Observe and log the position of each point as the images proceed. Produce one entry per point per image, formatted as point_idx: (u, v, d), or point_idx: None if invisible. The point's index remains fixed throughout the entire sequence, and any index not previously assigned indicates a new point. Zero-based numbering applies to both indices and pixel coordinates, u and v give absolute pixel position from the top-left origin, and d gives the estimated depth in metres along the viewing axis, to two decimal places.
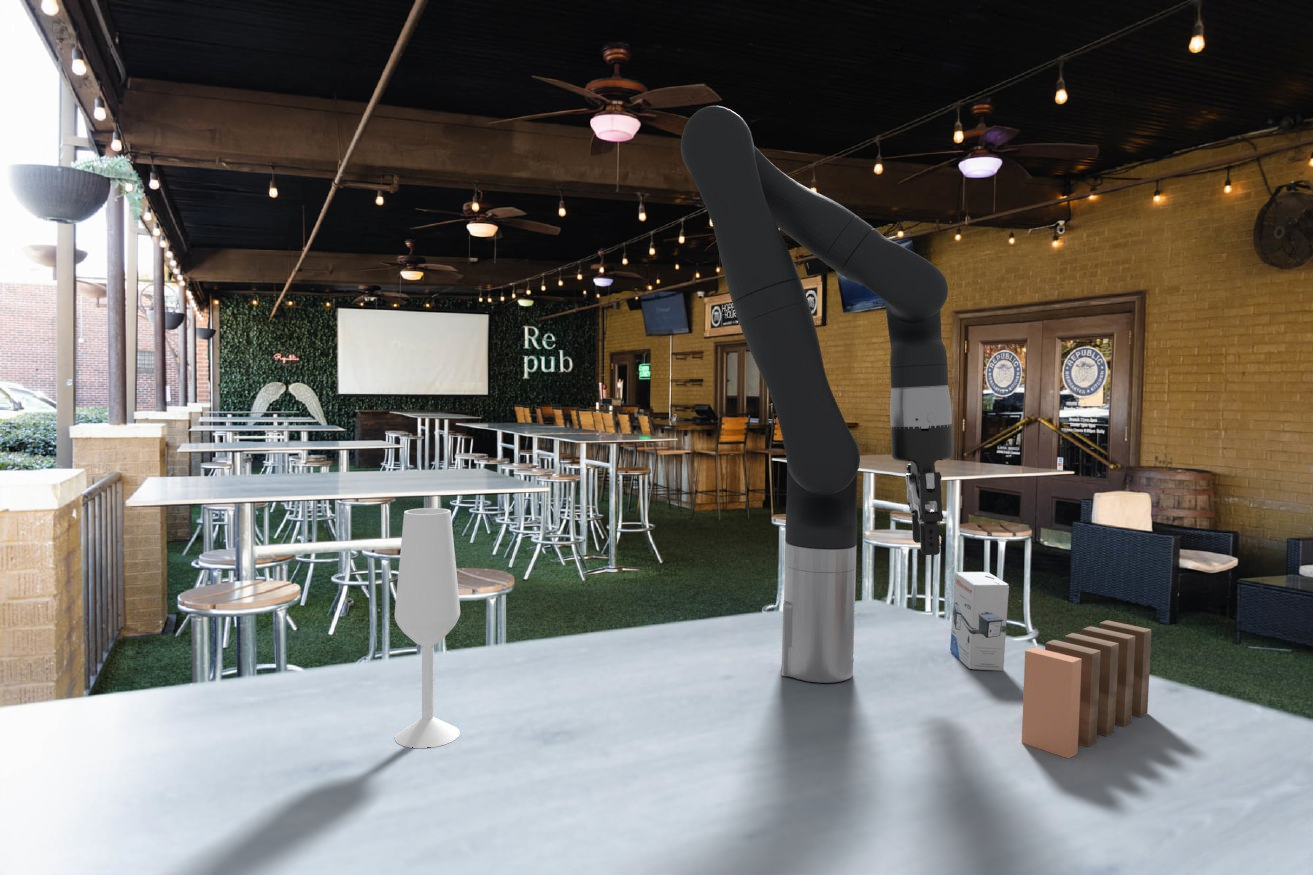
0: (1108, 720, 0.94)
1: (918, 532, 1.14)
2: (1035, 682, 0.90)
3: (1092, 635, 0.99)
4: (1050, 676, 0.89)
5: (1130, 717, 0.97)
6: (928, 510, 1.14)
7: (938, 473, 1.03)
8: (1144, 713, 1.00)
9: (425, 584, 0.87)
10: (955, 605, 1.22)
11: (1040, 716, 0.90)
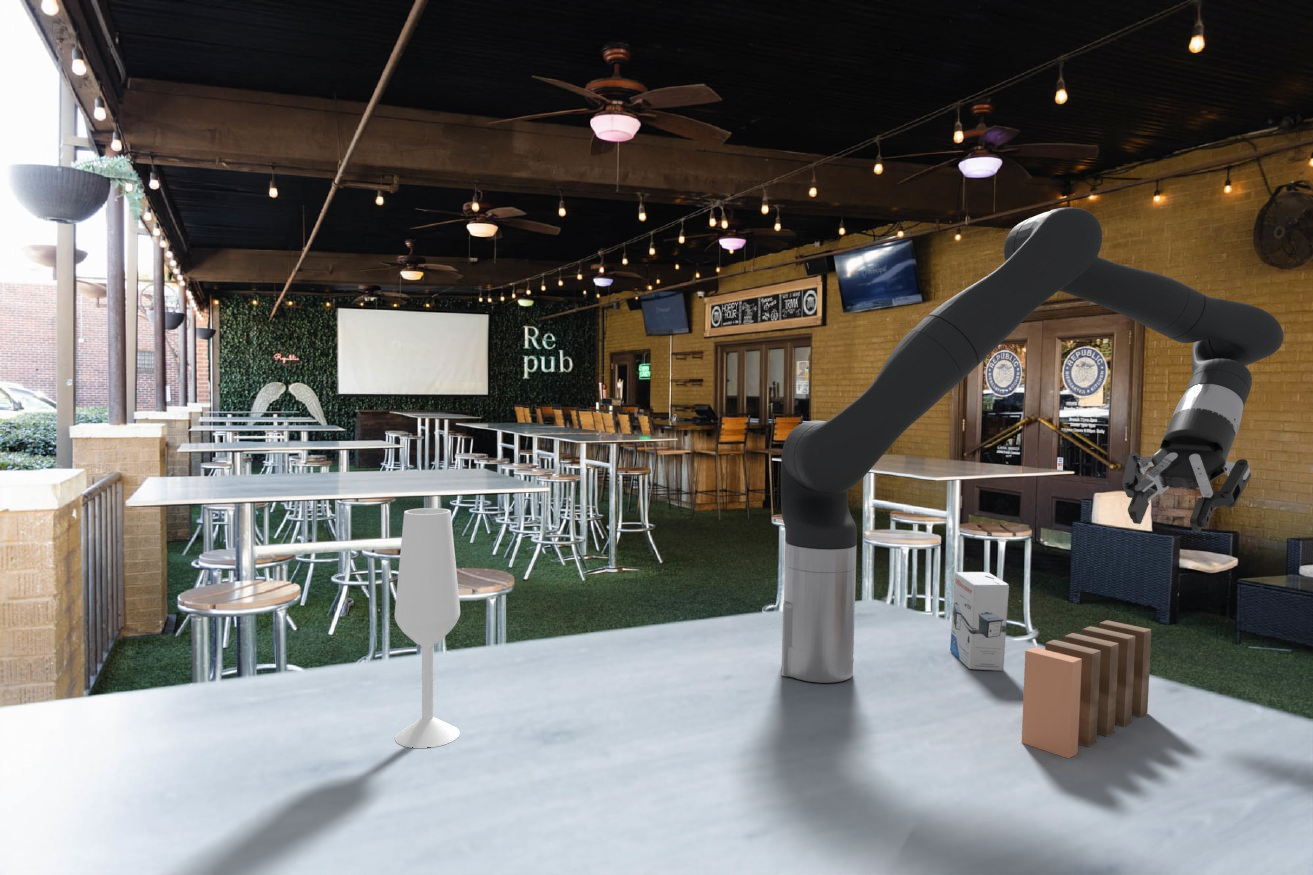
0: (1108, 720, 0.94)
1: (1140, 509, 1.09)
2: (1035, 682, 0.90)
3: (1092, 635, 0.99)
4: (1050, 676, 0.89)
5: (1130, 717, 0.97)
6: (1149, 499, 1.11)
7: None
8: (1144, 713, 1.00)
9: (425, 584, 0.87)
10: (955, 605, 1.22)
11: (1041, 716, 0.90)
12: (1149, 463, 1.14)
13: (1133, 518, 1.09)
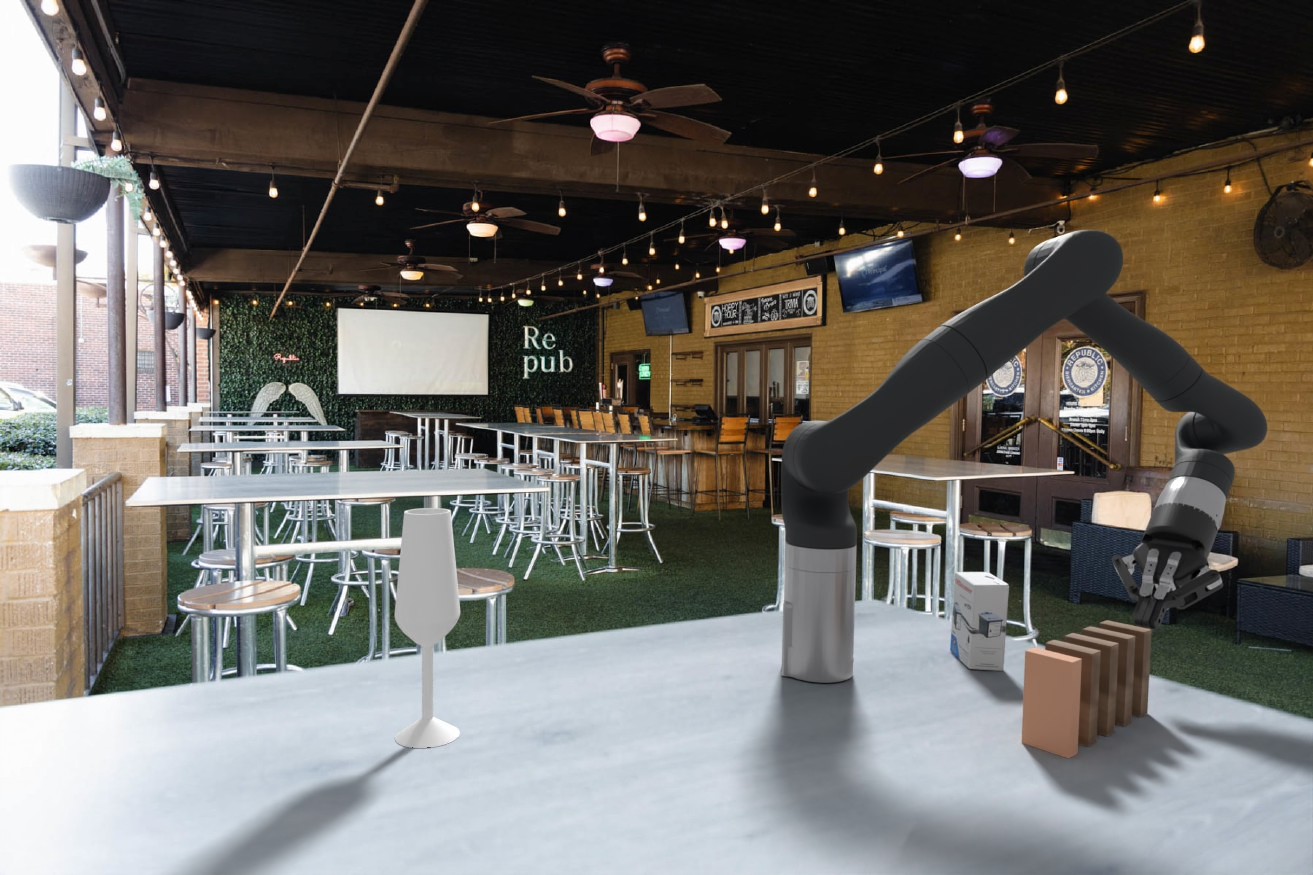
0: (1108, 720, 0.94)
1: None
2: (1035, 682, 0.90)
3: (1092, 635, 0.99)
4: (1050, 676, 0.89)
5: (1130, 717, 0.97)
6: None
7: (1222, 584, 1.04)
8: (1144, 713, 1.00)
9: (425, 584, 0.87)
10: (955, 605, 1.22)
11: (1041, 716, 0.90)
12: (1134, 561, 1.12)
13: (1138, 626, 1.05)
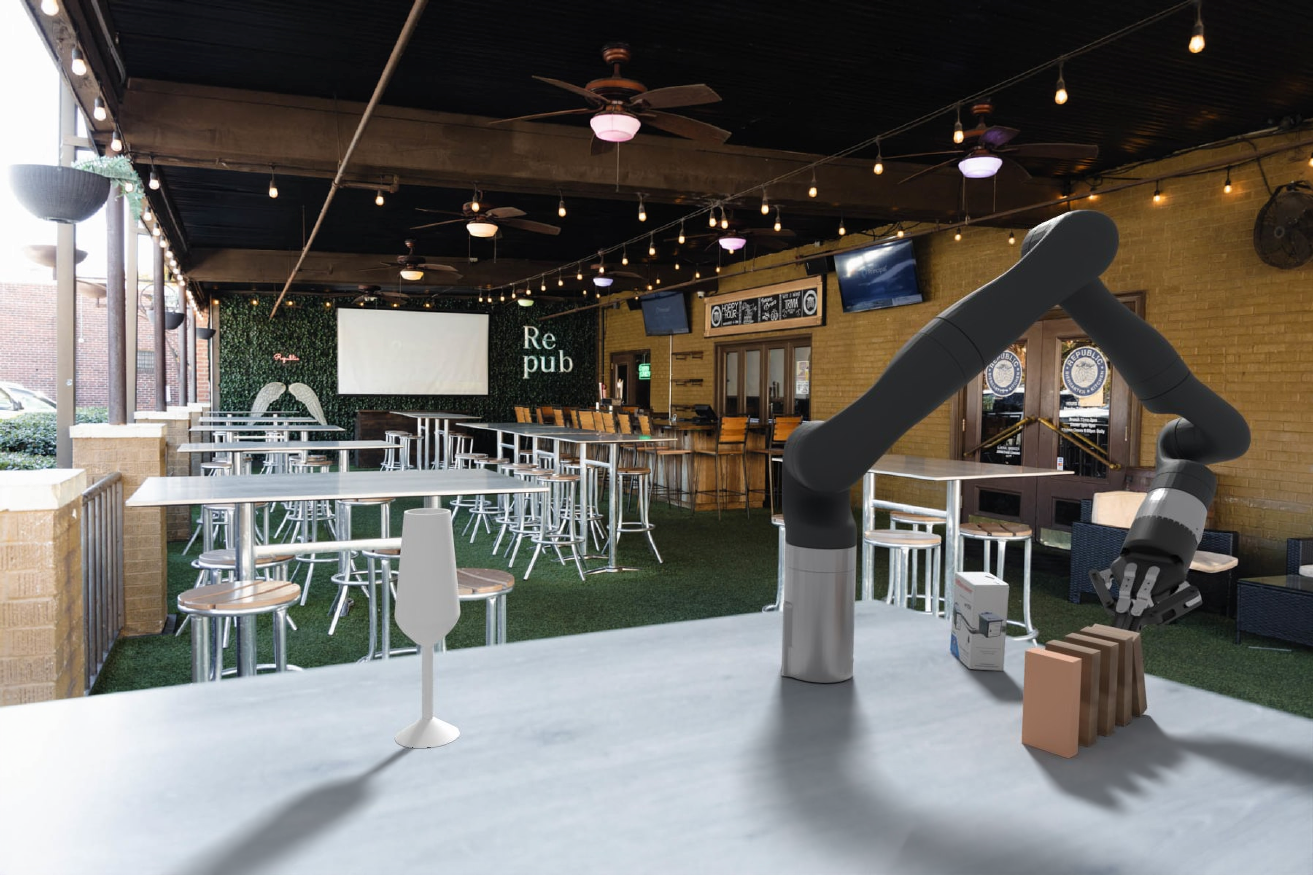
0: (1108, 720, 0.94)
1: None
2: (1035, 682, 0.90)
3: (1089, 636, 0.98)
4: (1050, 676, 0.89)
5: (1130, 716, 0.97)
6: None
7: (1201, 601, 1.00)
8: (1144, 710, 1.00)
9: (425, 584, 0.87)
10: (955, 605, 1.22)
11: (1040, 716, 0.90)
12: (1111, 576, 1.08)
13: None
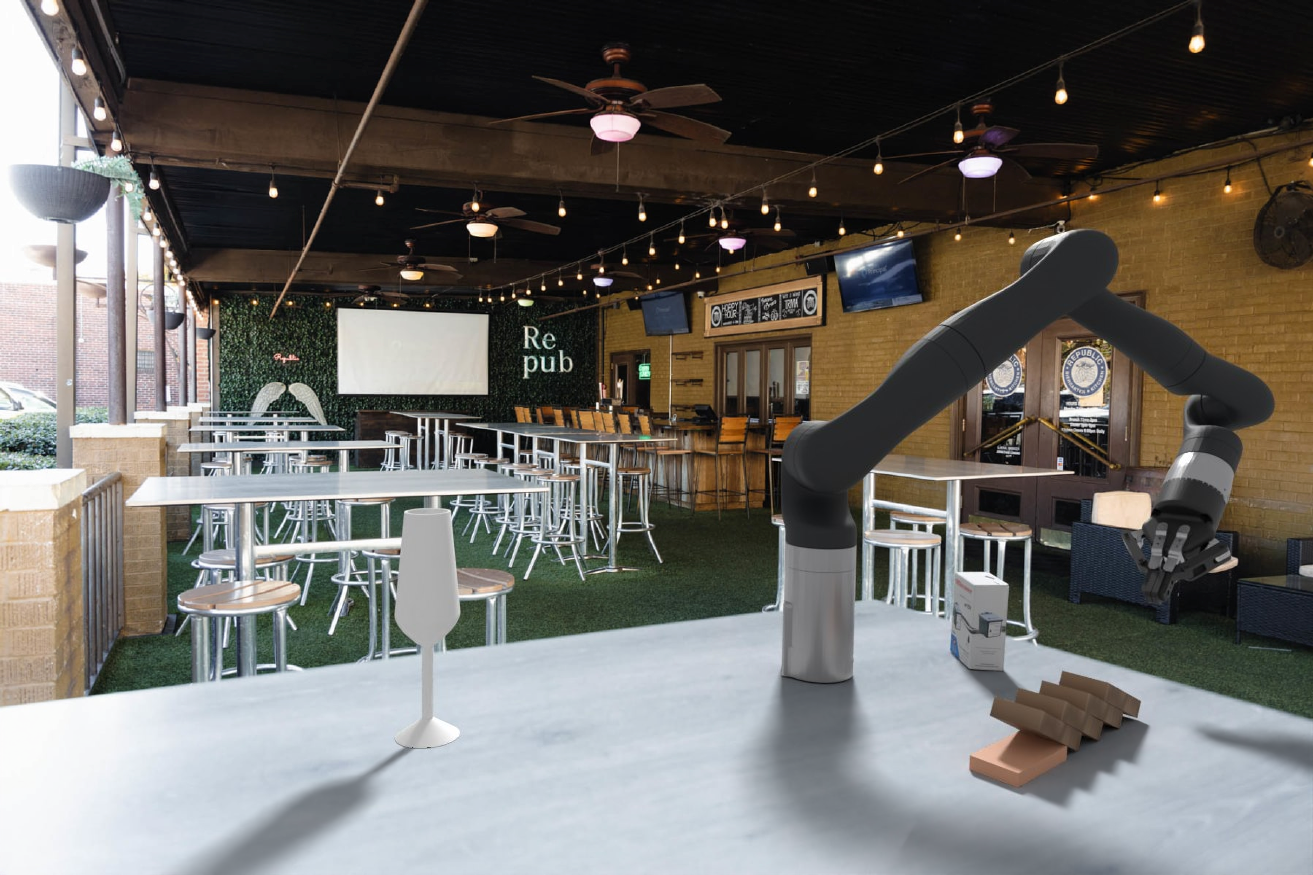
0: (1093, 735, 0.91)
1: None
2: None
3: None
4: None
5: (1121, 712, 0.96)
6: None
7: (1230, 556, 1.06)
8: (1139, 707, 0.99)
9: (425, 584, 0.87)
10: (955, 605, 1.22)
11: None
12: (1142, 535, 1.13)
13: (1147, 597, 1.06)
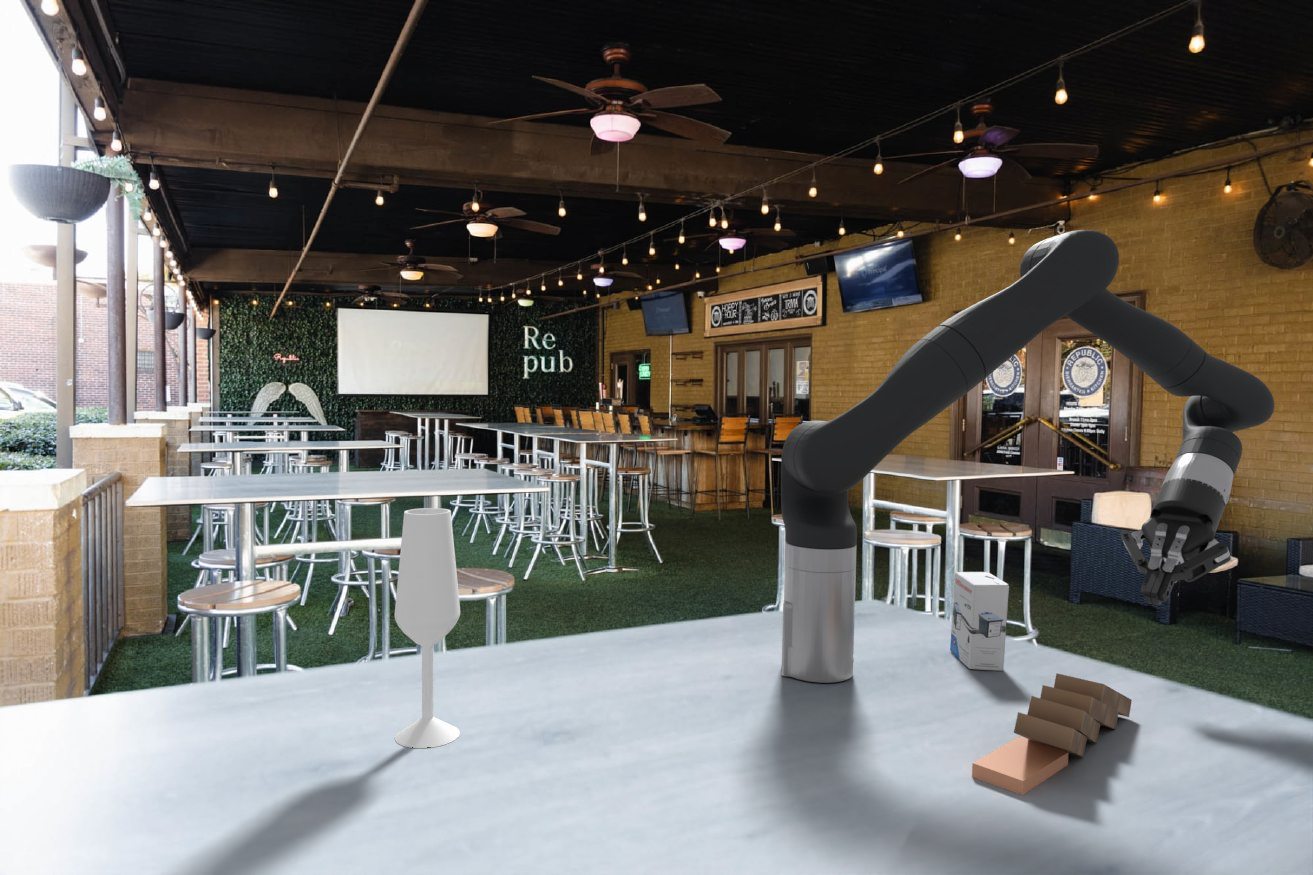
0: (1094, 739, 0.90)
1: None
2: None
3: None
4: None
5: (1116, 713, 0.96)
6: None
7: (1230, 557, 1.06)
8: (1130, 706, 0.99)
9: (425, 584, 0.87)
10: (955, 605, 1.22)
11: None
12: (1142, 536, 1.13)
13: (1147, 598, 1.07)
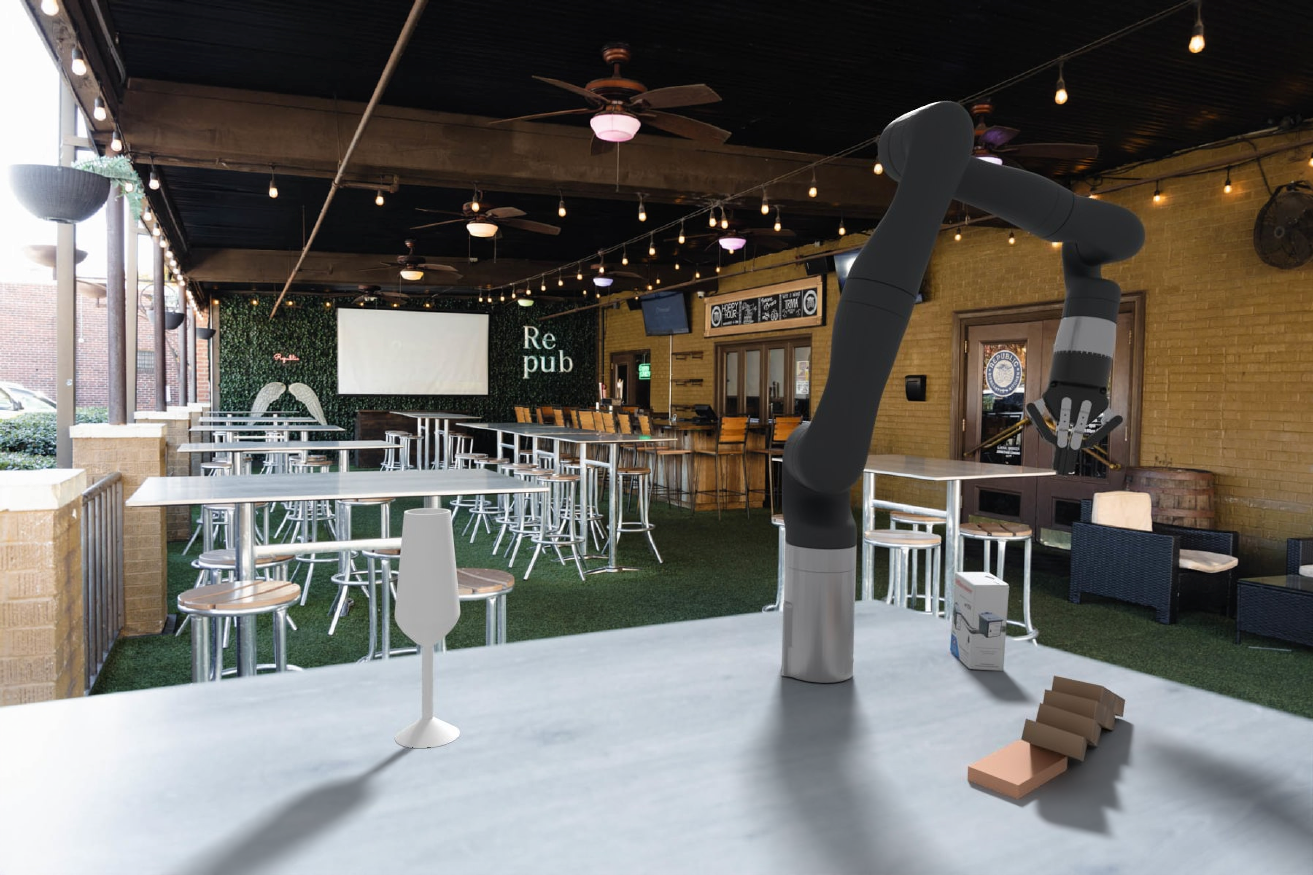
0: (1096, 744, 0.89)
1: None
2: None
3: None
4: None
5: (1114, 714, 0.95)
6: None
7: None
8: (1123, 706, 0.99)
9: (425, 584, 0.87)
10: (955, 605, 1.22)
11: None
12: (1043, 405, 1.21)
13: (1058, 475, 1.19)
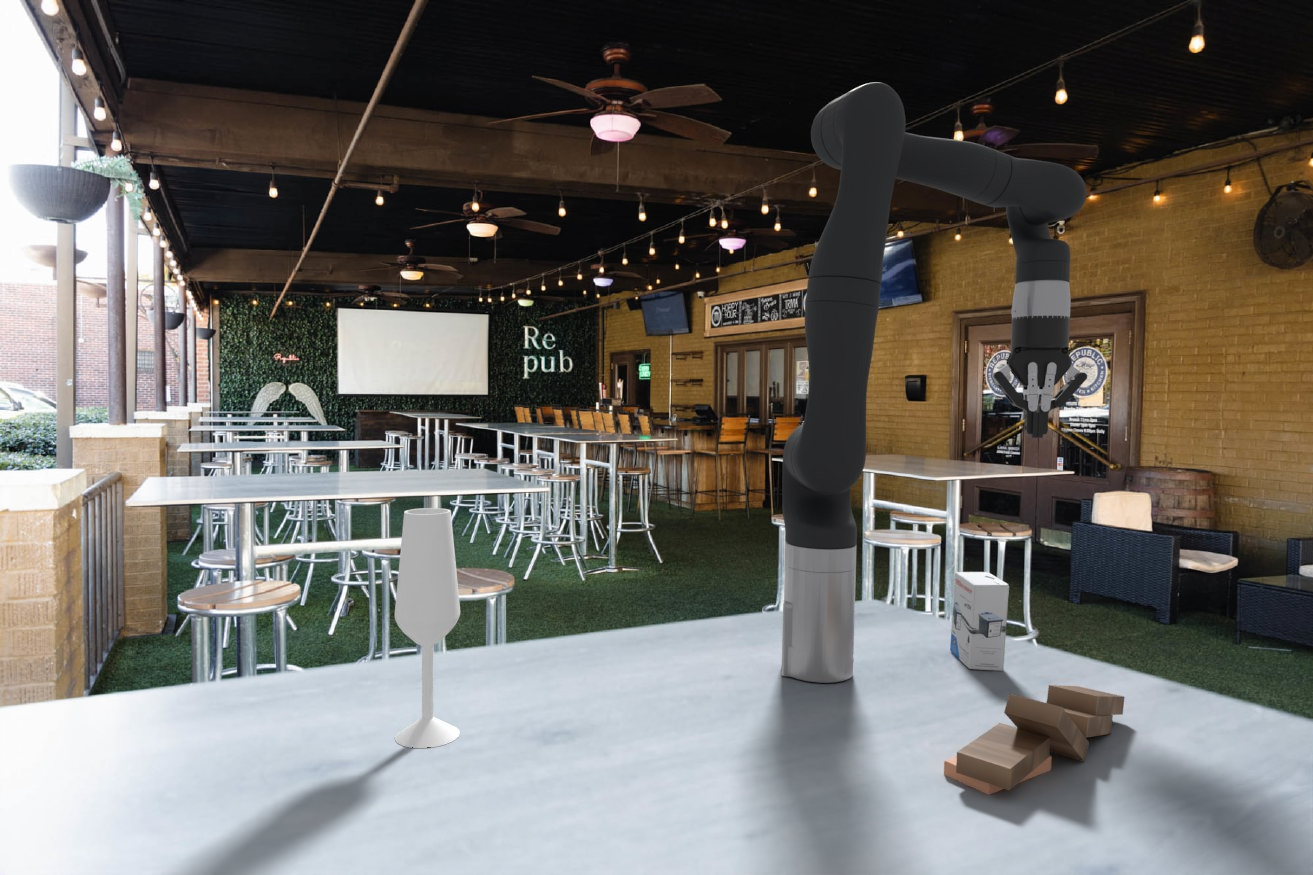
0: (1080, 753, 0.86)
1: None
2: None
3: None
4: None
5: (1111, 718, 0.94)
6: None
7: None
8: (1123, 703, 0.98)
9: (425, 584, 0.87)
10: (955, 605, 1.22)
11: None
12: (1009, 371, 1.22)
13: None
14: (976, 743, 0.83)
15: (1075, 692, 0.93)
